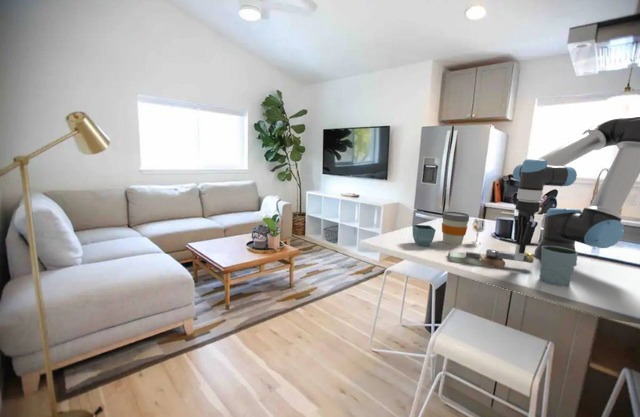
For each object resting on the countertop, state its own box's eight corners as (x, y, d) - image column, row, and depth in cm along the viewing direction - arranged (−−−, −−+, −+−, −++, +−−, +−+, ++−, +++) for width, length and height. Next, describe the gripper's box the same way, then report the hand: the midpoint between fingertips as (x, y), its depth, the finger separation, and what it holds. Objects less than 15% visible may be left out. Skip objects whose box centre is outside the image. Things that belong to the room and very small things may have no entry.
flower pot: (434, 247, 143) (436, 229, 141) (415, 246, 143) (417, 228, 142) (427, 242, 152) (429, 225, 150) (410, 241, 152) (412, 224, 150)
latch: (530, 260, 122) (532, 252, 121) (534, 263, 117) (536, 255, 117) (484, 254, 127) (485, 247, 126) (487, 257, 122) (488, 249, 122)
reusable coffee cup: (434, 239, 159) (437, 211, 156) (454, 238, 162) (458, 211, 159) (449, 246, 147) (453, 216, 144) (471, 245, 150) (475, 216, 147)
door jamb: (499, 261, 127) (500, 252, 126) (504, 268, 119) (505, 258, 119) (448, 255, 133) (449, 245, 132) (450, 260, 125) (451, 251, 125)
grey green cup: (578, 288, 103) (585, 255, 101) (545, 285, 105) (551, 252, 103) (560, 277, 113) (566, 246, 111) (530, 274, 114) (536, 243, 112)
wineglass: (484, 245, 152) (487, 222, 150) (471, 243, 153) (475, 220, 151) (480, 242, 158) (483, 219, 156) (468, 240, 159) (471, 218, 157)
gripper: (549, 204, 106) (538, 267, 110) (530, 199, 119) (520, 255, 123) (526, 202, 108) (515, 265, 112) (509, 197, 120) (501, 254, 124)
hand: (518, 260), depth 117 cm, fingers closed
